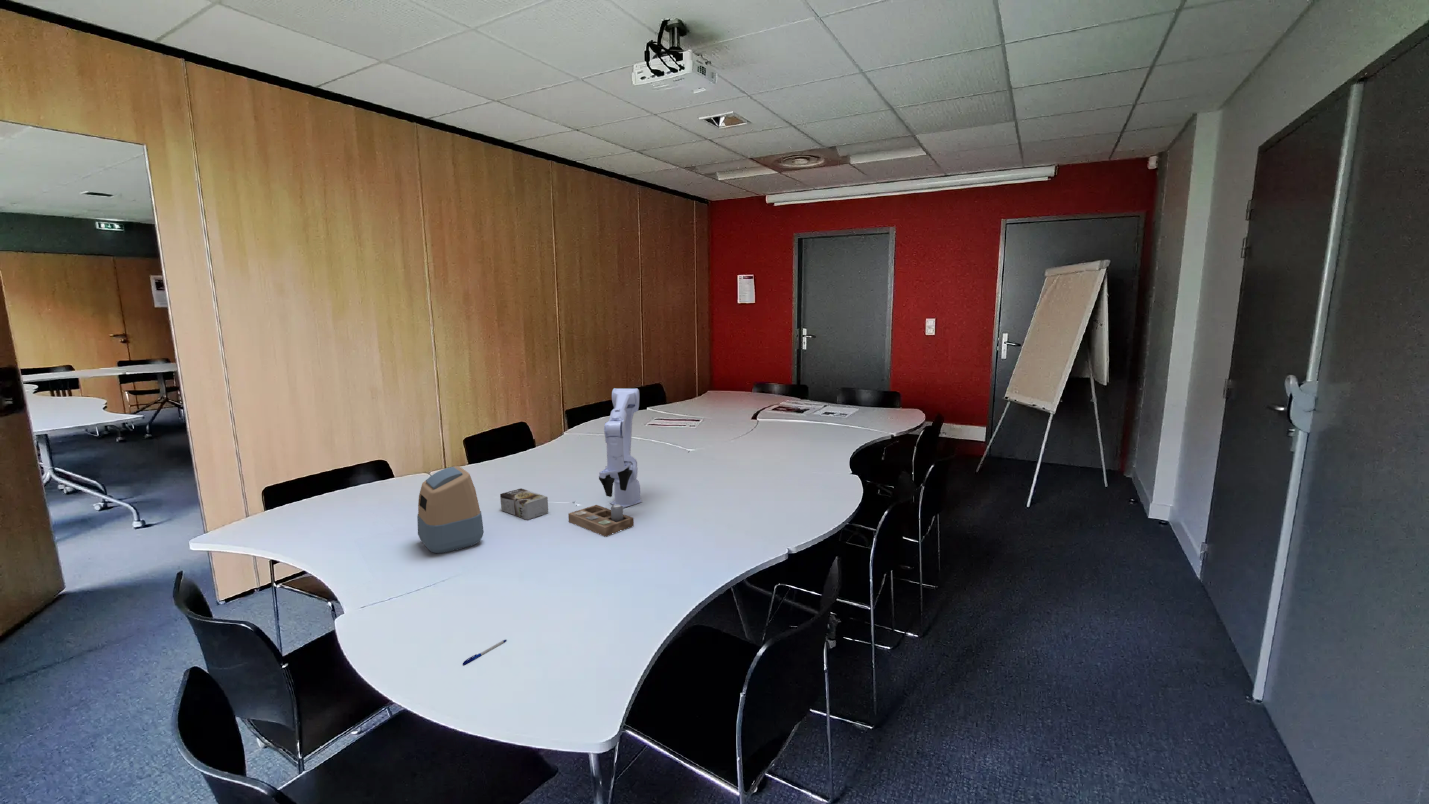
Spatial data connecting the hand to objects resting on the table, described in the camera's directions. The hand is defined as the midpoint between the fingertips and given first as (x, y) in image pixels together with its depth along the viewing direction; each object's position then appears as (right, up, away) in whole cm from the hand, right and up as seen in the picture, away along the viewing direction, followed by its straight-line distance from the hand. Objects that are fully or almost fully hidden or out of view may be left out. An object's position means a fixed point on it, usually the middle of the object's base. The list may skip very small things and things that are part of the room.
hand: (616, 493), depth 199 cm
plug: (+2, -11, -6) cm, 12 cm away
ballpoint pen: (-15, -22, -77) cm, 81 cm away
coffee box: (-28, -6, +2) cm, 29 cm away
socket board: (-5, -10, -4) cm, 12 cm away
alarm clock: (-48, -13, -20) cm, 54 cm away
